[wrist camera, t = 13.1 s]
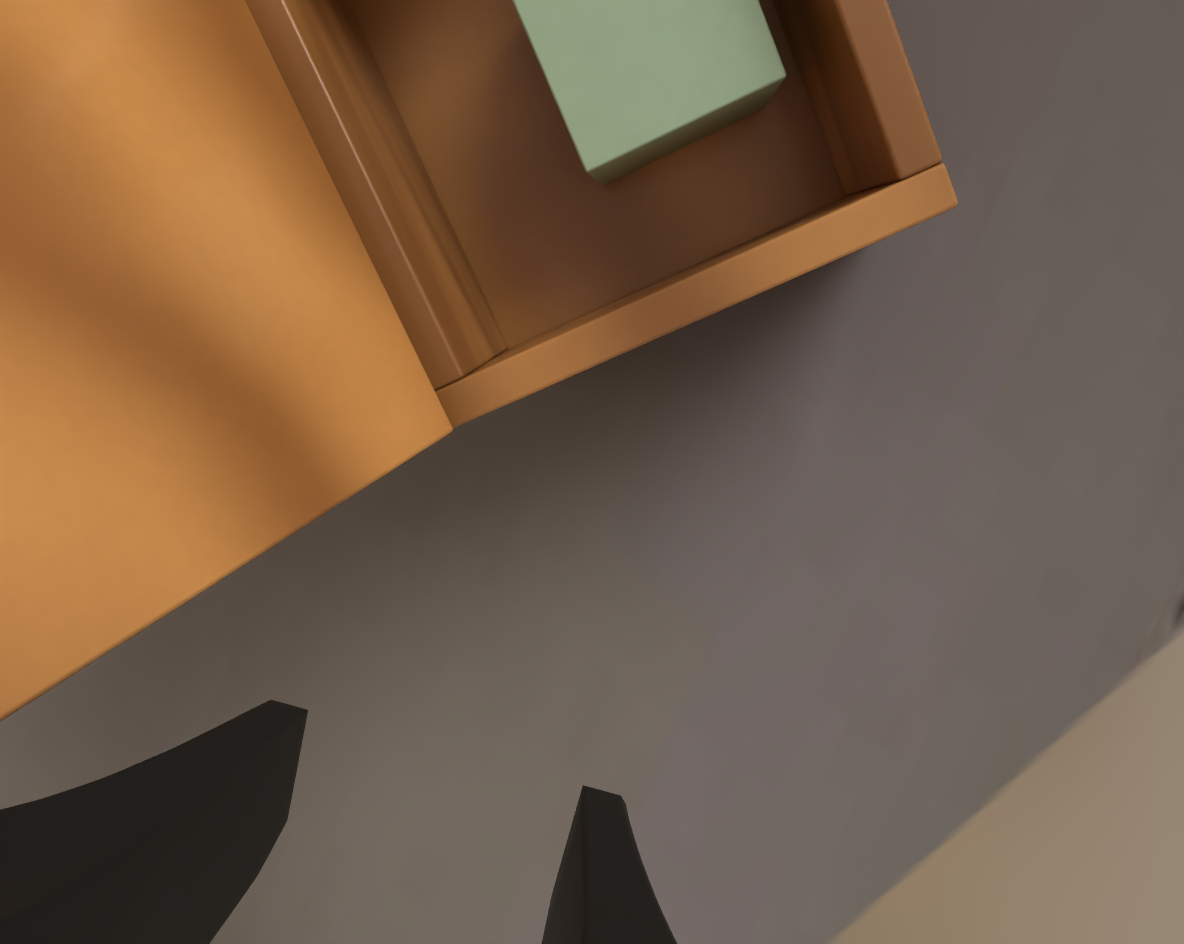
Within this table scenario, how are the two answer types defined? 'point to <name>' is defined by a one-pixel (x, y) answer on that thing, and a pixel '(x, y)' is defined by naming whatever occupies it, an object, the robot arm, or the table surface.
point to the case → (590, 182)
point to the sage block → (650, 73)
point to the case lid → (171, 325)
